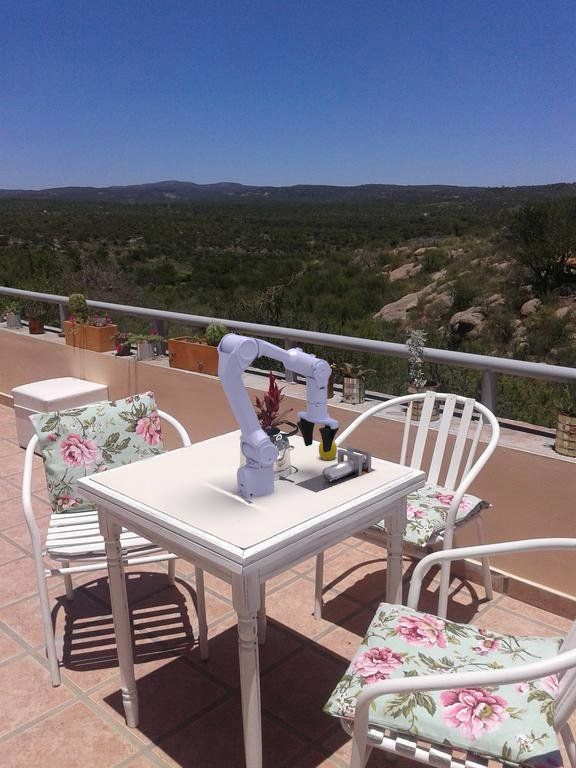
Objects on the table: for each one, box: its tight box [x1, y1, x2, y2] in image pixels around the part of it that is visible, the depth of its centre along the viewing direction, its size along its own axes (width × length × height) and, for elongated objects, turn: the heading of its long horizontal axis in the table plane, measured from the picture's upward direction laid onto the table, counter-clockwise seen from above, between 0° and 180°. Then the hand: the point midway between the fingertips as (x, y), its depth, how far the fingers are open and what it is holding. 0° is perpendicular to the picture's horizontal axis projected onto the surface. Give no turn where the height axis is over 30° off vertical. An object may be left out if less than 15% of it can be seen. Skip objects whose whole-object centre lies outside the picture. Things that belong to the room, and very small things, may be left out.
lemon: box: [318, 439, 338, 461], centre depth 199 cm, size 6×6×8 cm
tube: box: [321, 454, 365, 482], centre depth 185 cm, size 15×4×4 cm, turn 131°
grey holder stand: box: [294, 445, 376, 493], centre depth 184 cm, size 24×9×7 cm, turn 131°
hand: (317, 448), depth 184 cm, fingers open, 7 cm apart
